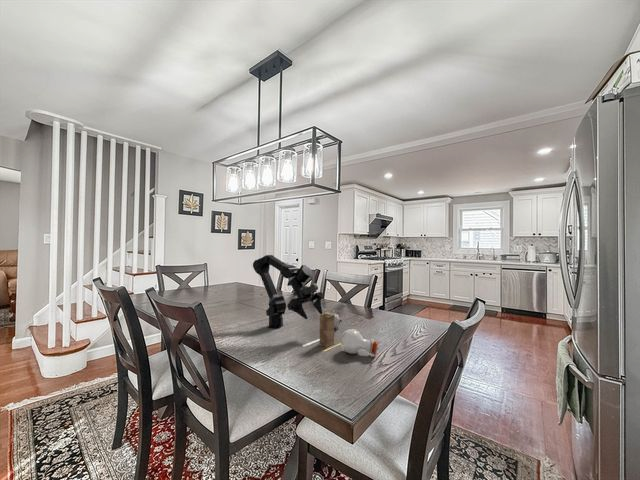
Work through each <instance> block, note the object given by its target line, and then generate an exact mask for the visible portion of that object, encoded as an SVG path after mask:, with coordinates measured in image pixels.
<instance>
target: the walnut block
mask: <svg viewBox="0 0 640 480" xmlns="http://www.w3.org/2000/svg"><path fill="white" fill-rule="evenodd" d="M334 314H335V313H332V314H331V312H330V313H329V312H323V313H322V314H319V339H320V341H319V345H320V346H323V347H326V348H328V347H329V348H330V347H332V346H335V328H334V316H335V315H334Z"/></svg>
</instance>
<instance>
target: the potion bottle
mask: <svg viewBox="0 0 640 480" xmlns="http://www.w3.org/2000/svg"><path fill="white" fill-rule="evenodd" d="M340 343H341V345H340V346H341V349H342V350H343V351H344V352H346V353H347V354H349V355H350V354H357V353H358V352H360V351H364V352H366V353H368V355H369V356H372V355H373V356H374V357H376V356H377V352H378V349H379V347H378V346H379V340H377V341H375V338H374V337H372V338H370V339H366V338H363V336H362V333H361V332H360V331H358V330H357V329H355V328H350V329H346V330H345V331H344V332H342V334H341V336H340Z"/></svg>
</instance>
